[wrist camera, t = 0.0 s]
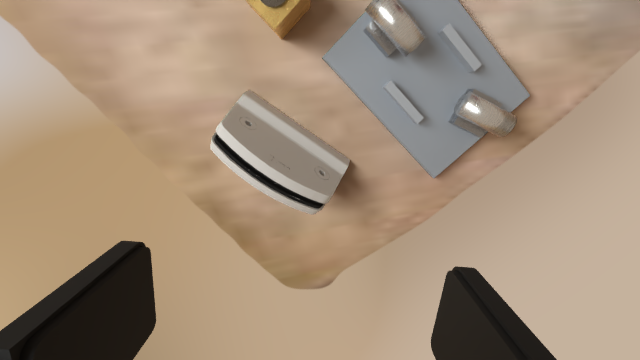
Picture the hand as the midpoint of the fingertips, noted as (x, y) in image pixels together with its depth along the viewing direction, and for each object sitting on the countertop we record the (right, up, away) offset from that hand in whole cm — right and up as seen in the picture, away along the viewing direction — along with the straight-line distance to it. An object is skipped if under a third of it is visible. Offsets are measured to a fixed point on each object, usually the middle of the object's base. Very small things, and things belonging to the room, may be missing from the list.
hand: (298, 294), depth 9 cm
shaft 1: (+9, +21, +26) cm, 35 cm away
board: (+14, +16, +28) cm, 35 cm away
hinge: (-4, +8, +31) cm, 32 cm away
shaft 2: (+20, +12, +29) cm, 37 cm away
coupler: (-4, +24, +26) cm, 35 cm away
